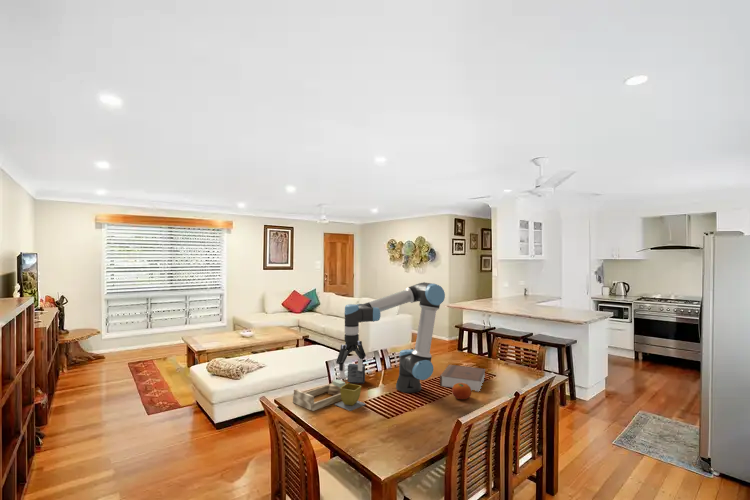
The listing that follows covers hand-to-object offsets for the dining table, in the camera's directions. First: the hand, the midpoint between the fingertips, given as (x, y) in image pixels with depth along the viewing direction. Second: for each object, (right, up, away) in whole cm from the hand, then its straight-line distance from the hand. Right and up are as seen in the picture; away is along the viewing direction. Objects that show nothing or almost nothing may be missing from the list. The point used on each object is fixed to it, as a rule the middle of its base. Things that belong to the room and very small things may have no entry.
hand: (351, 373), depth 202 cm
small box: (+1, -17, +37) cm, 40 cm away
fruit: (+62, -18, +12) cm, 65 cm away
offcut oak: (-8, -14, +15) cm, 22 cm away
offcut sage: (-8, -11, +15) cm, 21 cm away
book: (+69, -19, +41) cm, 83 cm away
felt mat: (-1, -16, 0) cm, 16 cm away
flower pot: (0, -16, 0) cm, 16 cm away
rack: (-15, -16, +7) cm, 23 cm away
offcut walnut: (-8, -17, +15) cm, 24 cm away
